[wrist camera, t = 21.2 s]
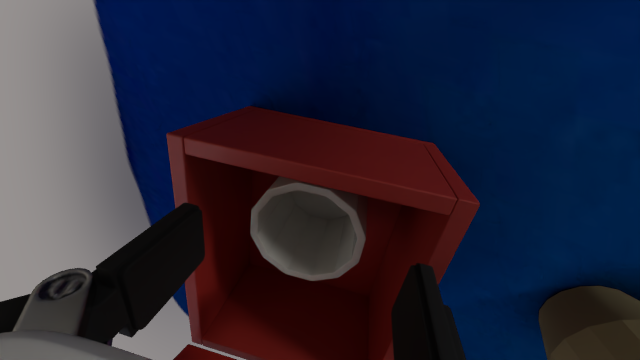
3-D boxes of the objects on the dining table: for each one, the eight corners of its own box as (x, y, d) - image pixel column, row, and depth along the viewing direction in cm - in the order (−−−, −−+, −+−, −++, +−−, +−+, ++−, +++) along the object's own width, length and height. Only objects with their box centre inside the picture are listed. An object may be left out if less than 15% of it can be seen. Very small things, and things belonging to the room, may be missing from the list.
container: (290, 137, 17) (252, 171, 11) (376, 155, 16) (377, 200, 11) (283, 209, 19) (248, 264, 14) (356, 227, 19) (349, 292, 13)
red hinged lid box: (249, 105, 17) (165, 133, 10) (434, 143, 16) (481, 204, 9) (244, 260, 24) (191, 342, 17) (376, 297, 22) (377, 401, 15)
